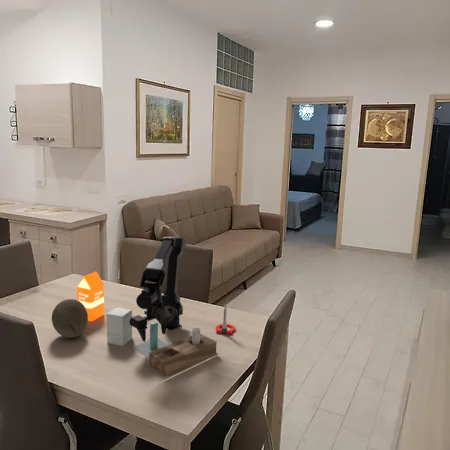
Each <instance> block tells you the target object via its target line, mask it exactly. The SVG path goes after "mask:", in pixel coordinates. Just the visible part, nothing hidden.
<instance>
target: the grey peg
mask: <svg viewBox="0 0 450 450" xmlns="http://www.w3.org/2000/svg"><path fill="white" fill-rule="evenodd" d="M191 330H192V331H191V336H192V344H193V345H195V346H197V345H199V344H200V334H201V328H199V327H193V328H192V329H191Z"/></svg>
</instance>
